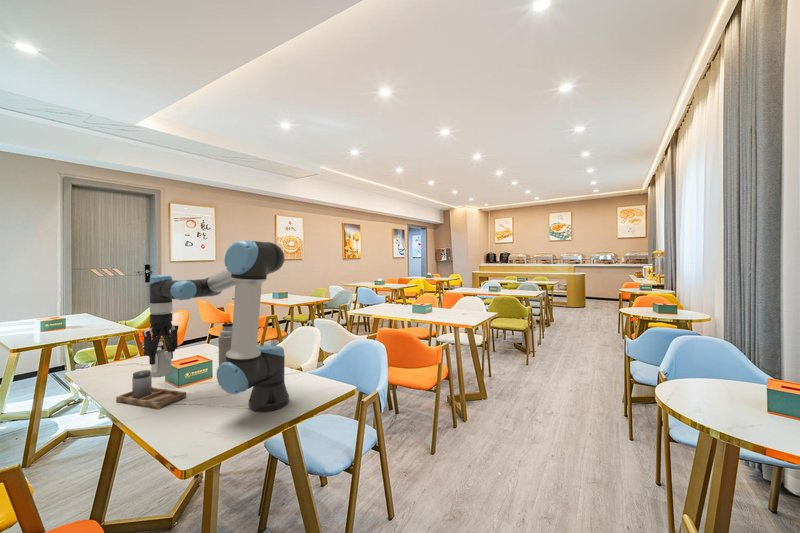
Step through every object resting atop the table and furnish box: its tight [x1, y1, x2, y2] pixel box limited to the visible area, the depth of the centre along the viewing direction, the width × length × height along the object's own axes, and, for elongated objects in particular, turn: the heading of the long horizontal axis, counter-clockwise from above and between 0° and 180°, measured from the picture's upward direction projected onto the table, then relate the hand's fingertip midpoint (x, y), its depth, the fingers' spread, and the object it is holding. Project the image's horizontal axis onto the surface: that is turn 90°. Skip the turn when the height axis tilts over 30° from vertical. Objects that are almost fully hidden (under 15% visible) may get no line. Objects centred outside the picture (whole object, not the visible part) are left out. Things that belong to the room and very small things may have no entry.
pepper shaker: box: [131, 369, 153, 399], centre depth 140 cm, size 6×6×10 cm
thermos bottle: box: [218, 322, 233, 367], centre depth 158 cm, size 8×8×28 cm
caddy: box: [115, 386, 187, 410], centre depth 139 cm, size 23×12×2 cm, turn 73°
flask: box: [150, 349, 173, 378], centre depth 137 cm, size 7×7×10 cm
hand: (161, 369), depth 137 cm, fingers closed on flask, 5 cm apart
